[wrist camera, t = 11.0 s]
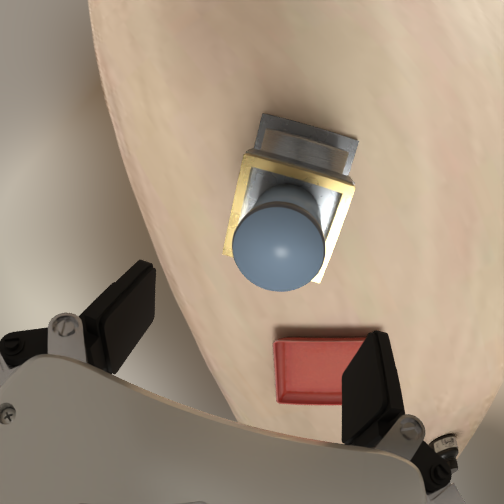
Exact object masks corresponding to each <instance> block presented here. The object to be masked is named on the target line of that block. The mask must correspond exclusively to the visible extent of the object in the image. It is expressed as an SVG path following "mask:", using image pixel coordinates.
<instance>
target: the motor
mask: <svg viewBox="0 0 504 504" xmlns="http://www.w3.org/2000/svg"><path fill="white" fill-rule="evenodd" d="M358 142H359V141H357V140H354V139H351V138H348V137H345V136H342V135H339V134H336V133H333V132H330V131H327V130H323V129H320V128H317V127H313V126H310V125H307V124H303V123H299V122H296V121H292V120H288V119H284V118H280V117H276V116H272V115H268V114H264V113H262V117H261V121H260V126H259V130H258V134H257V138H256V142H255V146H254V148H253V149H250V150H248V151H246V154H244V156H243V160H242V164H241V169H240V173H239V178H238V182H237V187H236V191H235V196H234V201H233V205H232V210H231V215H230V219H229V224H228V229H227V234H226V239H225V243H224V248H223V253H222V254H223V255H227V256H230V257H233V253H232V239H233V235H234V231H235V229H236V227H237V226H238V224H239V222H240V221H241V220H242V218H243V217H244V216H245V215H246V214H247V213H248V212H249V211H250V210H251V209H252V207H253V206H254V204H255V203H256V201H257V200H258V199H259V197H260V196H261V195H262V194H263V193H264V192H265V191H266V190H268V189H269V188H272V187H274V186H277V185H282V184H289V185H295V186H298V187H301V188H303V189H305V190H306V191H307V192H309V193H310V194H311V195H312V196H313V197H314V199H315V200H316V202H317V204H318V206H319V209H320V213H321V224H322V230H323V233H324V237H325V245H326V254H325V260H324V263H323V266H322V268H321V270H320V271H319V273H318V274H317V275H316V276H315V278H314V279H312V280H311V281H314V282H317V283H320V281H321V279H322V276H323V274H324V271H325V269H326V266H327V264H328V261H329V259H330V256H331V254H332V251H333V249H334V246H335V243H336V241H337V238H338V235H339V233H340V230H341V227H342V224H343V222H344V219H345V216H346V213H347V210H348V208H349V205H350V202H351V199H352V196H353V193H354V190H355V186H354V184H355V183H354V182H353V180H352V179H351V177H350V176H348V175H349V172H350V169H351V165H352V162H353V159H354V156H355V152H356V149H357V146H358ZM233 258H234V257H233Z"/></svg>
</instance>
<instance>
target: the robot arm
mask: <svg viewBox="0 0 504 504" xmlns="http://www.w3.org/2000/svg"><path fill="white" fill-rule="evenodd" d="M155 281H156V269H155V268H153V265H152V263H149V262H146V261H143V260H139V261H137V262H136V263H135V264H134V265H133V266H132V267H131V268H130V269H129V270H128V271H127V272H126V273H125V274H124V275H122V276H121V277H120V278H119V279H118V280H117V281H116V282H114V283H112V284H111V285H110V286H109V287H108V288H107V289H106V290H105V291H104V292H103V293H102V294H101V295H100V296H99V297H98V298H97V299H96V300H95V301H94V302H93V303H92V304H91V305H90V306H89V307H88V308H87V309H86V310H85V311H84V312H83V313H82V314H81V315H80V316H79V317H78V316H76V315H75V314H72V313H61V314H58V315H56V316H55V317H54V318H52V319H51V321H50V322H49V326H48V328H41V329H33V330H26V331H17V332H12V333H8V334H7V335H5V336H4V337H3V338H2V339H1V341H0V504H466V503H465V501H464V500H463V498H462V496H461V494H460V493H459V491H458V489H457V487H456V486H455V484H454V483H452V484H451V483H450V480H451V475H452V473H451V469H450V466H449V465H448V463H447V462H446V461H445V460H444V459H443V458H441V457H440V456H439V455H438V454H437V453H436V452H435V451H434V450H433V449H432V448H431V447H430V446H429V445H428V444H427V443H426V442H424V441H423V439H424V437H425V428H424V425H423V423H422V422H421V421H420V420H419V418H417V417H415V416H413V415H410V414H406V415H405V410H404V405H403V399H402V393H401V388H400V383H399V378H398V373H397V369H396V366H395V362H394V357H393V353H392V349H391V344H390V340H389V336H388V334H387V333H385V332H381V331H377V330H375V331H373V333H369V334H368V335H367V337H366V339H365V340H364V342H363V343H362V345H361V347H360V348H359V350H358V351H357V353H356V354H355V356H354V357H353V359H352V360H351V362H350V363H349V365H348V366H347V368H346V369H345V371H344V372H343V374H342V443H345V444H338V443H331V442H325V441H319V440H313V439H307V438H301V437H296V436H291V435H286V434H282V433H277V432H273V431H269V430H264V429H260V428H256V427H252V426H249V425H245V424H241V423H238V422H234V421H231V420H227V419H224V418H221V417H218V416H214V415H211V414H208V413H205V412H202V411H199V410H196V409H194V408H191V407H188V406H185V405H182V404H180V403H177V402H174V401H172V400H169V399H167V398H164V397H161V396H159V395H157V394H154V393H152V392H150V391H147V390H145V389H143V388H140V387H138V386H136V385H134V384H131V383H129V382H127V381H125V380H122V379H120V378H118V377H116V376H114V375H112V373H113V374H116V373H117V372H118V370H119V368H120V367H121V366H122V364H123V363H124V362H125V360H126V359H127V357H128V356H129V354H130V353H131V351H132V350H133V349H134V347H135V346H136V344H137V343H138V341H139V340H140V339H141V337H142V336H143V334H144V333H145V332H146V330H147V329H148V327H149V326H150V325H151V323H152V322H153V319H154V314H155Z"/></svg>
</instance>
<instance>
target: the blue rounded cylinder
mask: <svg viewBox="0 0 504 504" xmlns="http://www.w3.org/2000/svg"><path fill="white" fill-rule="evenodd" d="M232 253H233V257H234V260H235V262H236V265H237V266H238V268H239V270H240V271H241V272H242V274H243V275H244V276H245V277H246V278H247V279H248V280H249V281H251V282H252V283H253V284H255V285H257V286H259V287H261V288H264V289H266V290H271V291H280V292H283V291H290V290H295V289H297V288H300V287H302V286H304V285H306V284H307V283H309V282H310V281H311V280H312V279H314V278H315V276H316V275H317V274H318V273H319V271H320V270H321V268H322V266H323V263H324V260H325V254H326V245H325V237H324V233H323V230H322V224H321V213H320V209H319V206H318V204H317V202H316V200H315V199H314V197H313V196H312V195H311V194H310V193H309V192H307V191H306V190H305V189H303V188H301V187H298V186H295V185H289V184H282V185H277V186H274V187H272V188H269V189H268V190H266V191H265V192H264V193H263V194H262V195H261V196H260V197H259V199H258V200H257V201H256V203H255V204H254V206H253V207H252V209H251V210H250V211H249V212H248V213H247V214H246V215H245V216H244V217H243V218H242V220H241V221H240V222H239V224H238V226H237V227H236V229H235V231H234V235H233V239H232Z"/></svg>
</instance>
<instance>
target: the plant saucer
mask: <svg viewBox="0 0 504 504" xmlns="http://www.w3.org/2000/svg"><path fill="white" fill-rule="evenodd" d="M365 339H366V337H361V338H302V337H287V338H281V339H278V340H275V341H274V342H273V354H274V368H275V385H276V401H277V402H278V403H279V404H295V405H342V374H343V372H344V371H345V369H346V368H347V366H348V365H349V363H350V362H351V360H352V359H353V357H354V356H355V354H356V353H357V351H358V350H359V348H360V347H361V345H362V343H363V342H364V340H365Z"/></svg>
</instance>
